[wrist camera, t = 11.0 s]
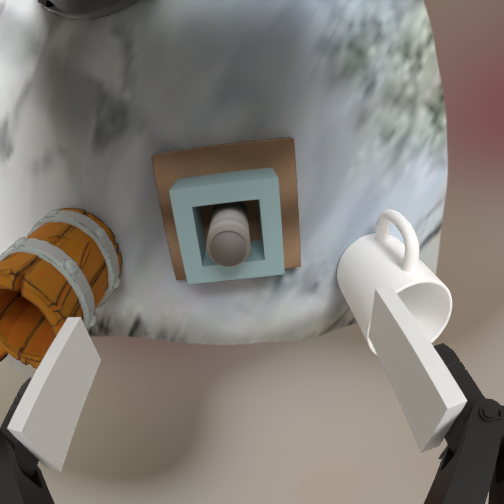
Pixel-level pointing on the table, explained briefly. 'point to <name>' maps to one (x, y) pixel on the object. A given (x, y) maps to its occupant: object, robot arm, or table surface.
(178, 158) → the post block
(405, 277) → the cup
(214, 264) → the ring
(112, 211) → the table surface
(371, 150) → the table surface
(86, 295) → the mug
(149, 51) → the table surface
